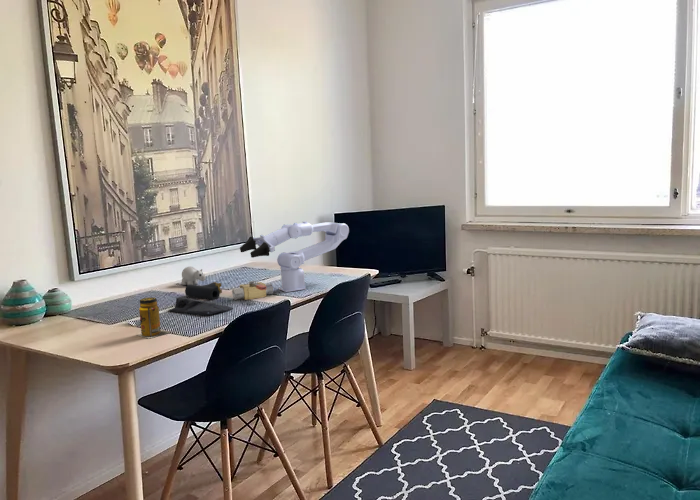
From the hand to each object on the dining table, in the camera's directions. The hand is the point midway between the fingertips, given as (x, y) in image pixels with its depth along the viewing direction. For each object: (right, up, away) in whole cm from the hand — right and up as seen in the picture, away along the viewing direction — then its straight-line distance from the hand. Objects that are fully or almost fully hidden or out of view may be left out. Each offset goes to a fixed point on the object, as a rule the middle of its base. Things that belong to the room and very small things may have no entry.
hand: (245, 252), depth 241 cm
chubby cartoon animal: (-29, -15, +31) cm, 45 cm away
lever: (+5, -14, -1) cm, 15 cm away
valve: (+2, -18, +4) cm, 19 cm away
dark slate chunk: (-14, -22, -14) cm, 30 cm away
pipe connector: (-17, -18, +9) cm, 27 cm away
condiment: (-22, -27, -44) cm, 56 cm away
